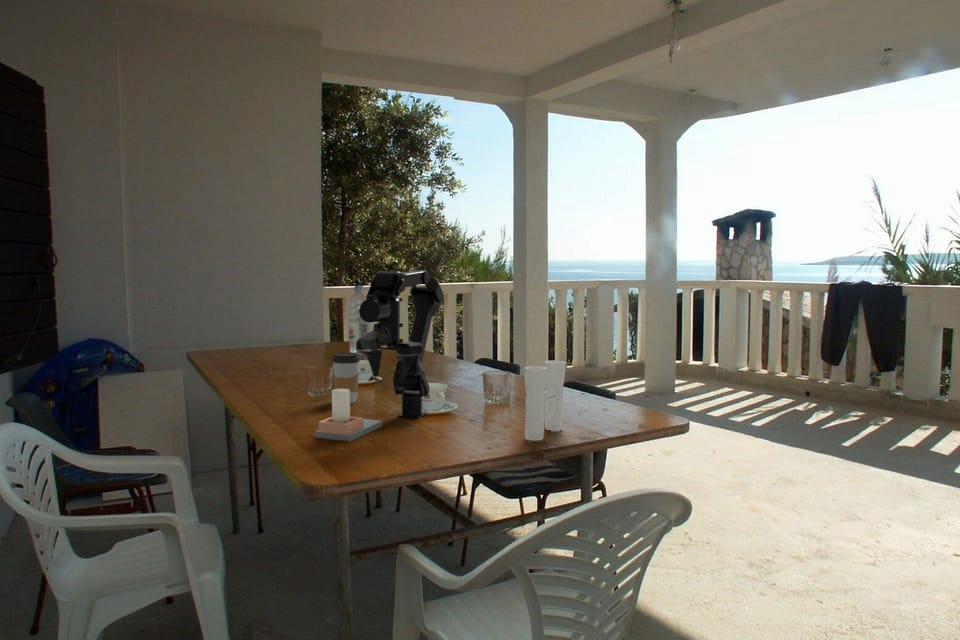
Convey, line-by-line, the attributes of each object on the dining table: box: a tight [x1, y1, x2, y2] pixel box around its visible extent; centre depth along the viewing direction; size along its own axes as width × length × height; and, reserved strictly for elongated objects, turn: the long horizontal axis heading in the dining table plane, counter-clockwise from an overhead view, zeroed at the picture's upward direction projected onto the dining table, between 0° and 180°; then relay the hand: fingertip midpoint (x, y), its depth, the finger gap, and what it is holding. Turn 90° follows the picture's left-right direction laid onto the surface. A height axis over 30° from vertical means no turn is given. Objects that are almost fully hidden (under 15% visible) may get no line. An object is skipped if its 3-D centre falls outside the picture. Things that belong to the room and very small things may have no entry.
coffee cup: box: [332, 352, 360, 405], centre depth 206 cm, size 8×8×15 cm
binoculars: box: [524, 360, 566, 441], centre depth 169 cm, size 17×5×18 cm, turn 150°
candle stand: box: [314, 415, 383, 442], centre depth 170 cm, size 16×10×4 cm, turn 160°
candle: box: [331, 388, 351, 424], centre depth 166 cm, size 4×4×10 cm
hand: (388, 378), depth 174 cm, fingers open, 9 cm apart
